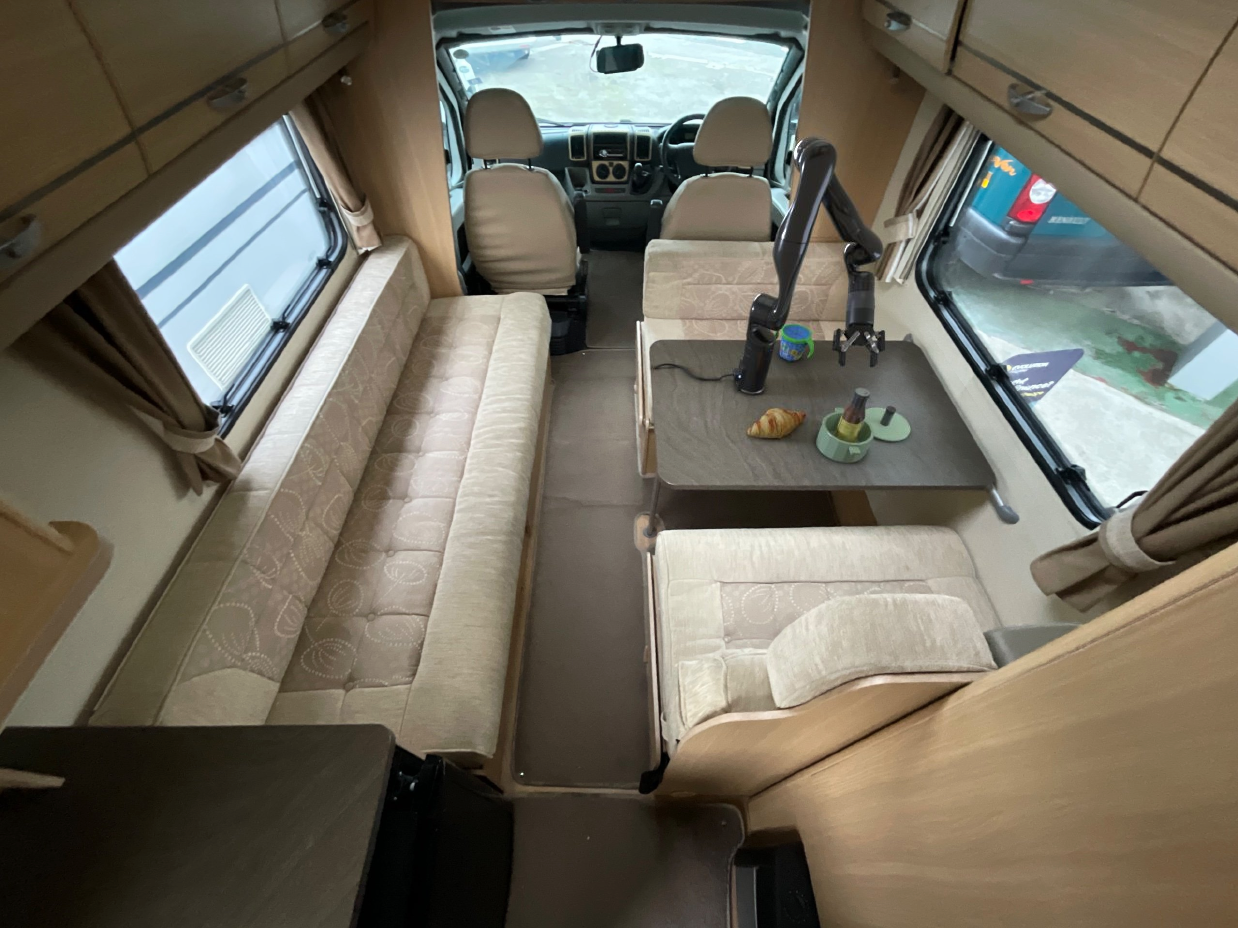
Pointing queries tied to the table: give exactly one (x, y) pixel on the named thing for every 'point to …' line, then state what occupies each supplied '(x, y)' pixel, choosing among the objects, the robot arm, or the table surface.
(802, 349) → the snack cup
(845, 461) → the pot
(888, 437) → the pot lid
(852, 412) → the sauce bottle
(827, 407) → the table surface
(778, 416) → the croissant
